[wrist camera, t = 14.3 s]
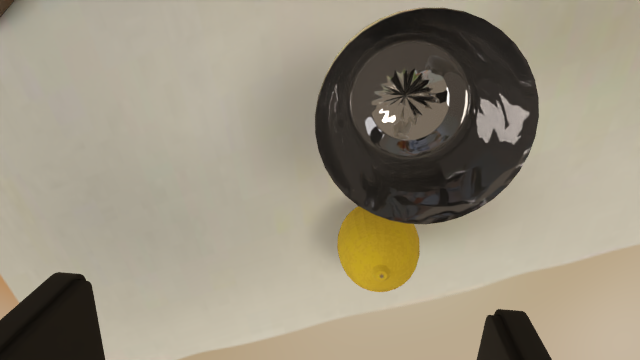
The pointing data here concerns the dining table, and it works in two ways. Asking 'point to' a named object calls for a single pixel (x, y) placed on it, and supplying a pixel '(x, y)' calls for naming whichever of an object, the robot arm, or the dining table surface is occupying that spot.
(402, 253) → the lemon
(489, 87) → the wine glass
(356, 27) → the dining table surface
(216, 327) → the dining table surface
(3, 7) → the cutting board
